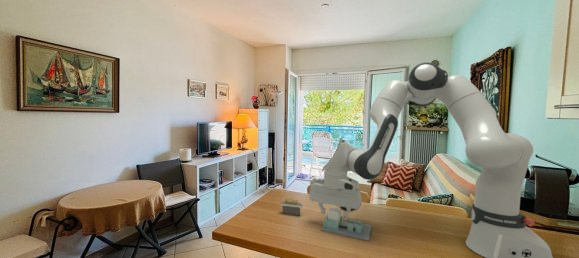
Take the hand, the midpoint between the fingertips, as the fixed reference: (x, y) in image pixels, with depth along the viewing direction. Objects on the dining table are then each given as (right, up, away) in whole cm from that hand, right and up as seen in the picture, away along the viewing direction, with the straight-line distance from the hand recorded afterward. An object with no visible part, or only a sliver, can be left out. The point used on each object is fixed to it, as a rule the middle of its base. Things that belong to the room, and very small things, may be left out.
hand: (334, 215), depth 93 cm
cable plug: (+4, -4, -1) cm, 6 cm away
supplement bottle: (+10, -4, +19) cm, 22 cm away
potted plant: (-17, -4, +11) cm, 21 cm away
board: (+5, -5, -2) cm, 7 cm away
